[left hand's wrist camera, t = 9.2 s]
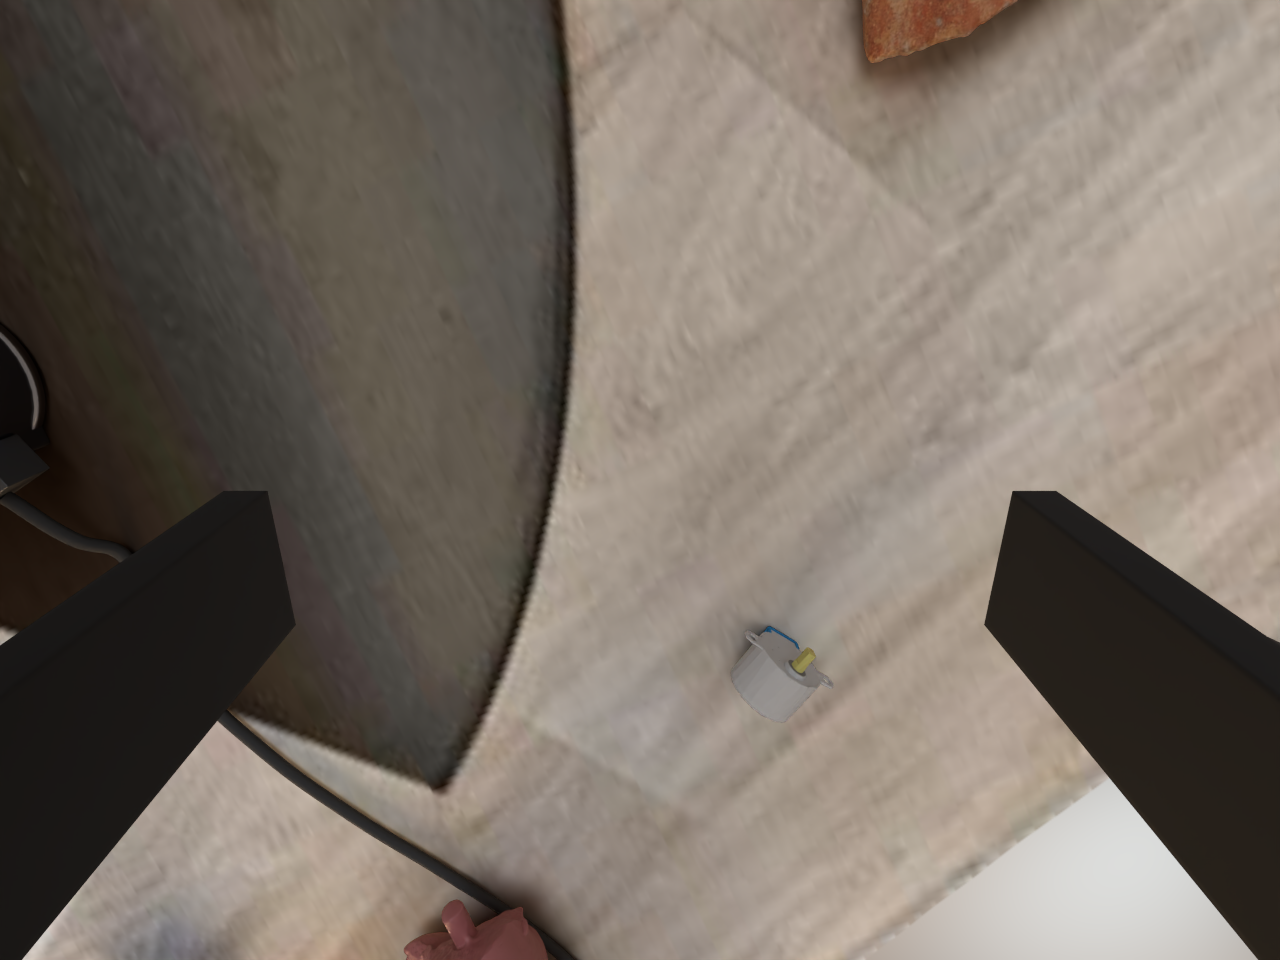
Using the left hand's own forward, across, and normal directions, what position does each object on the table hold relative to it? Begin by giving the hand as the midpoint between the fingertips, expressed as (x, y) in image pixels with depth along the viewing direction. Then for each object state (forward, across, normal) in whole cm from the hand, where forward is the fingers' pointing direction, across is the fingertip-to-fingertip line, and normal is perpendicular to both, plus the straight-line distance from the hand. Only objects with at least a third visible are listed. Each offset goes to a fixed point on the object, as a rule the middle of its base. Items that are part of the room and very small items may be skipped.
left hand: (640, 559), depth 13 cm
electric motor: (+28, +9, -21) cm, 36 cm away
